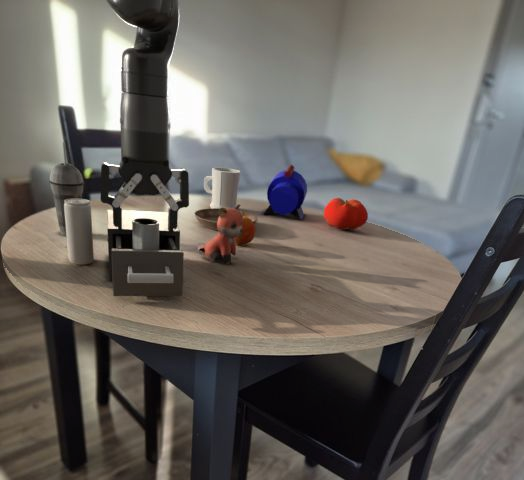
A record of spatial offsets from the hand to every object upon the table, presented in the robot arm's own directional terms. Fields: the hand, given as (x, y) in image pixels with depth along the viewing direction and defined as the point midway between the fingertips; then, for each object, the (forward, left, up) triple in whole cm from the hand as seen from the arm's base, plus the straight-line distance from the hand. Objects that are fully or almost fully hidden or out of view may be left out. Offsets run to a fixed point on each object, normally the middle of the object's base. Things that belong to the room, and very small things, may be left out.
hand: (145, 230), depth 83 cm
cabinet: (0, +12, -11) cm, 16 cm away
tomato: (+62, +51, -11) cm, 81 cm away
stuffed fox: (+17, +20, -11) cm, 28 cm away
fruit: (+25, +31, -11) cm, 41 cm away
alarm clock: (+48, +66, -11) cm, 82 cm away
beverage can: (-12, +15, -11) cm, 22 cm away
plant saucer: (+25, +49, -11) cm, 56 cm away
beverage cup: (-15, +36, -11) cm, 40 cm away
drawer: (0, -2, -10) cm, 10 cm away
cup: (+28, +70, -11) cm, 76 cm away
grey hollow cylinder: (0, 0, -9) cm, 9 cm away
